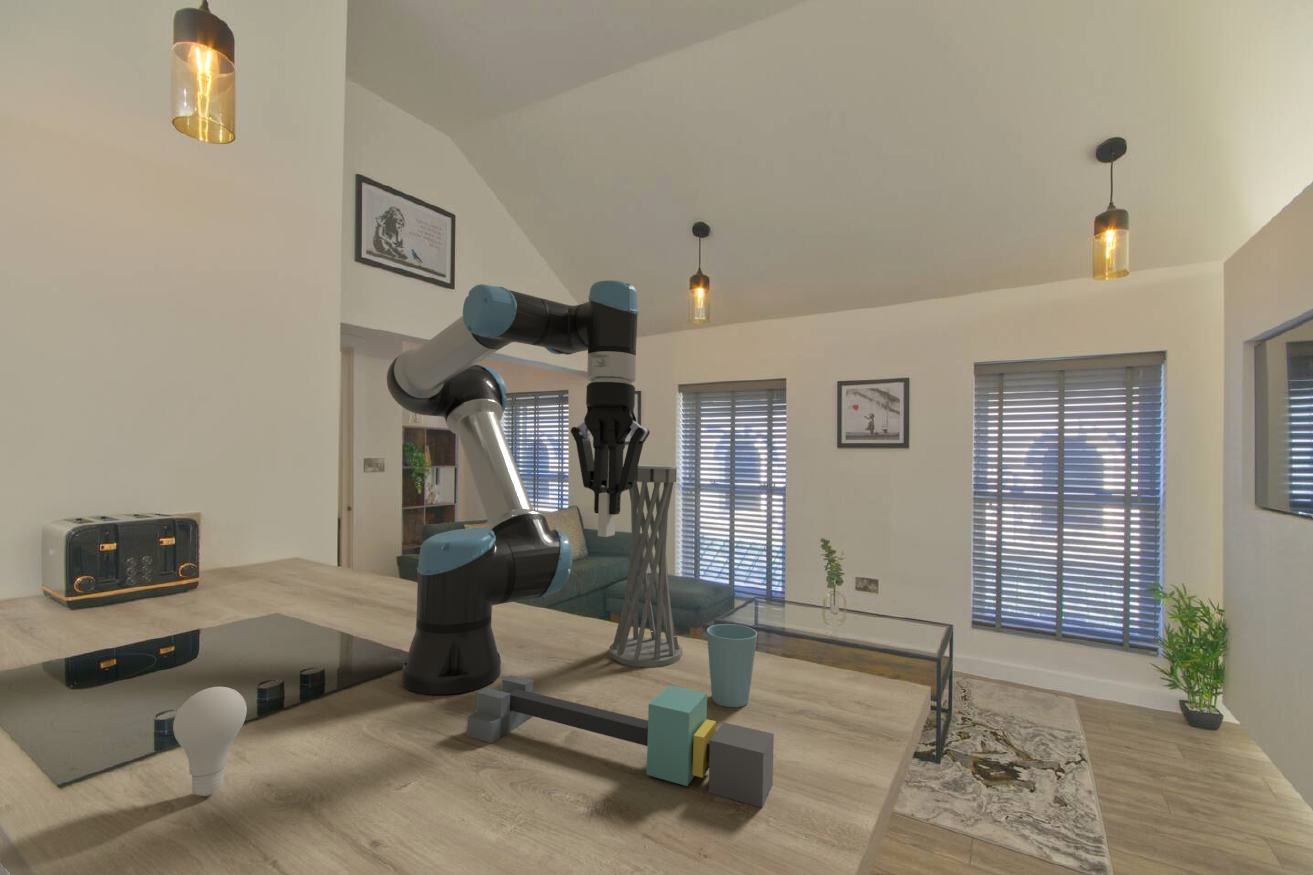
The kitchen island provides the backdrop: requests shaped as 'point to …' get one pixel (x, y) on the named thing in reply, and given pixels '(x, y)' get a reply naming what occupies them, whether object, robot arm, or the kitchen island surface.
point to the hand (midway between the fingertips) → (606, 535)
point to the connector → (741, 764)
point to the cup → (731, 663)
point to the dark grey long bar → (606, 723)
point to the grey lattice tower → (639, 647)
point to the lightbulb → (209, 734)
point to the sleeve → (674, 733)
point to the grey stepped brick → (497, 711)
